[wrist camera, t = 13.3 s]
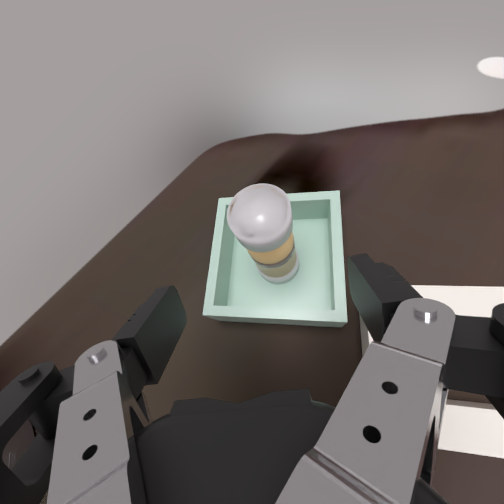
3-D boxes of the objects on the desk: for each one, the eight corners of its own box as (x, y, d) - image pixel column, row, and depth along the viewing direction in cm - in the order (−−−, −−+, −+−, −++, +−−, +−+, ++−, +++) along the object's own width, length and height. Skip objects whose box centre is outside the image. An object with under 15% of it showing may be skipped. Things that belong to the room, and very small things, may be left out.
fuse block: (368, 427, 19) (379, 441, 16) (357, 293, 22) (365, 283, 19) (573, 455, 16) (636, 479, 13) (524, 297, 19) (564, 286, 16)
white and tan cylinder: (257, 284, 24) (223, 241, 15) (259, 245, 25) (230, 185, 16) (299, 284, 23) (290, 240, 14) (299, 245, 24) (291, 181, 15)
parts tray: (219, 320, 24) (202, 315, 20) (231, 218, 28) (219, 198, 24) (341, 327, 21) (347, 322, 18) (335, 213, 25) (339, 190, 22)
